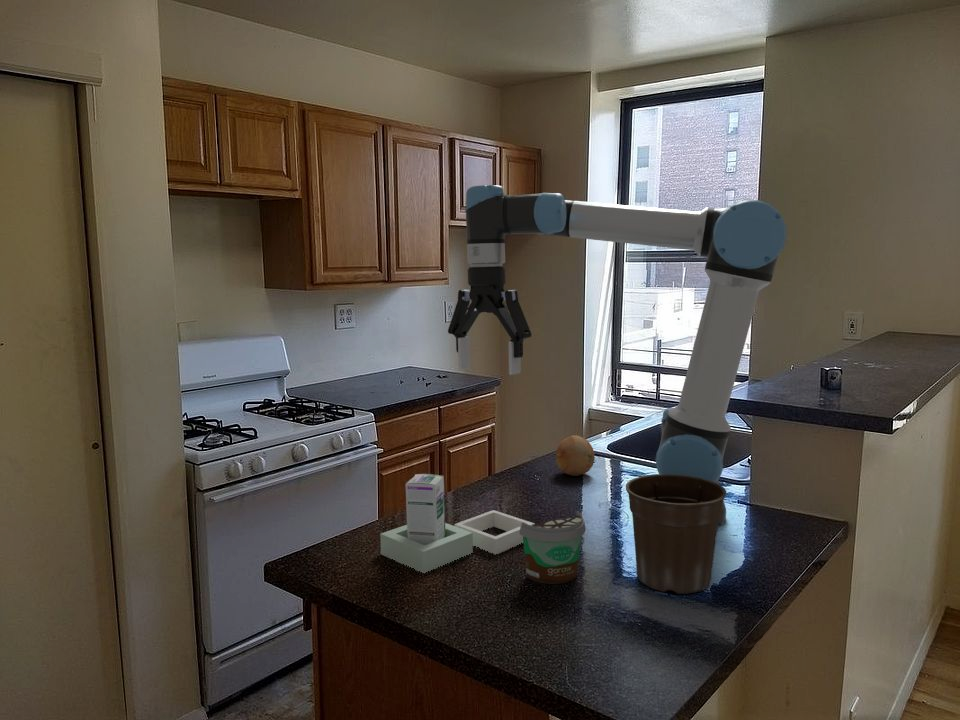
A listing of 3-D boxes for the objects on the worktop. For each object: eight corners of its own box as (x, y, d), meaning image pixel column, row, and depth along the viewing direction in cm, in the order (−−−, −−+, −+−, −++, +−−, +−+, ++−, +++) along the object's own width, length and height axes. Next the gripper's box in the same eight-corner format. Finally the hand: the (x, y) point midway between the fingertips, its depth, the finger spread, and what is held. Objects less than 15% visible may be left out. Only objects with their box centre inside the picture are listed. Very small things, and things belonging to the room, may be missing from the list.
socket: (472, 553, 135) (472, 532, 135) (423, 573, 127) (423, 551, 126) (429, 536, 144) (429, 516, 143) (380, 554, 135) (380, 533, 135)
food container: (538, 593, 119) (538, 534, 118) (519, 578, 125) (519, 522, 123) (599, 577, 125) (600, 521, 124) (578, 564, 130) (579, 510, 129)
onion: (584, 483, 176) (585, 443, 175) (548, 476, 182) (548, 437, 180) (601, 473, 184) (601, 434, 183) (565, 467, 190) (566, 429, 188)
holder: (534, 538, 142) (534, 523, 142) (495, 554, 135) (495, 539, 134) (493, 524, 150) (493, 510, 150) (454, 538, 142) (454, 524, 142)
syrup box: (437, 561, 132) (436, 483, 130) (406, 558, 133) (405, 481, 131) (446, 549, 137) (445, 474, 135) (416, 546, 139) (414, 472, 137)
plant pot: (603, 574, 126) (605, 484, 124) (665, 551, 136) (668, 467, 133) (679, 610, 113) (682, 510, 111) (742, 583, 123) (746, 490, 120)
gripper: (429, 266, 151) (432, 368, 154) (523, 265, 134) (525, 379, 137) (454, 266, 156) (457, 364, 159) (548, 264, 140) (549, 373, 143)
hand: (489, 371), depth 148 cm, fingers open, 13 cm apart
